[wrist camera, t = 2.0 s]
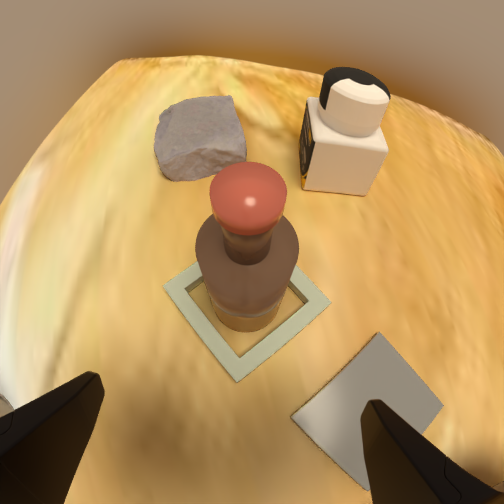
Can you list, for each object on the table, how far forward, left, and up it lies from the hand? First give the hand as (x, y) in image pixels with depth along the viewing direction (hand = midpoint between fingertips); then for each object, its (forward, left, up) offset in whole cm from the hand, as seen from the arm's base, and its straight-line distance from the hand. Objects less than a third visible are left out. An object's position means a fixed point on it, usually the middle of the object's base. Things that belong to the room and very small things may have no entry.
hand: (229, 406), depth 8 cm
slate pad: (+7, -9, -13) cm, 17 cm away
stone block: (+13, +24, -14) cm, 30 cm away
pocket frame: (+5, +6, -13) cm, 15 cm away
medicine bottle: (+22, +11, -14) cm, 28 cm away
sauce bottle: (+5, +6, -13) cm, 16 cm away
